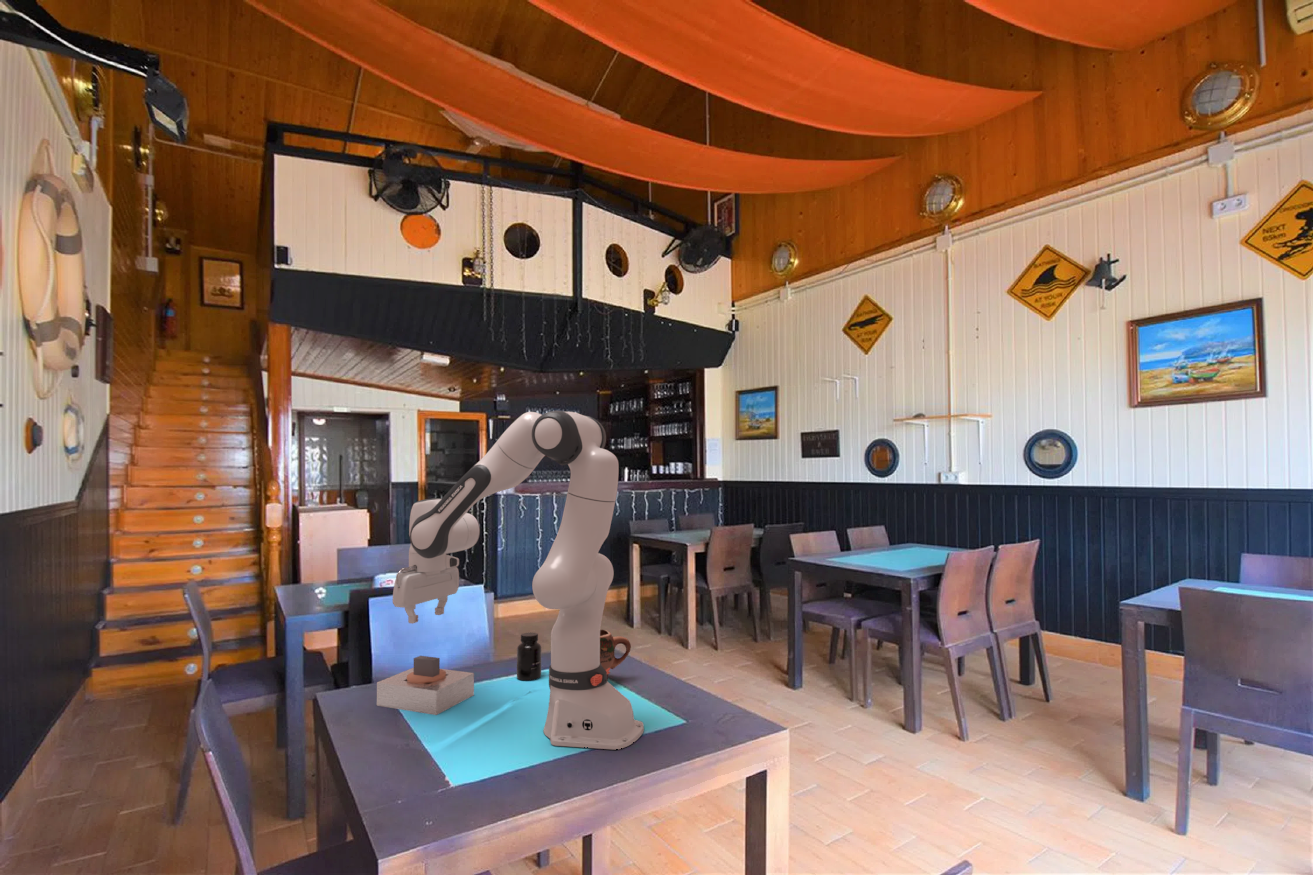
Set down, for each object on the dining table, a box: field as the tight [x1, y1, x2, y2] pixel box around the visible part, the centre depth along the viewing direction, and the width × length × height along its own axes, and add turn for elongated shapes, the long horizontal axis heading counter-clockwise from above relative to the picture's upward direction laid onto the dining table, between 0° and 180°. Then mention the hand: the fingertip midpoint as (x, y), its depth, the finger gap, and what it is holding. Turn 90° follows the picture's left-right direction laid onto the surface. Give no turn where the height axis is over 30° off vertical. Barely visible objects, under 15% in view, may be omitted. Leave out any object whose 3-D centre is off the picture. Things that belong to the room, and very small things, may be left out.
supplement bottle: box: [516, 632, 542, 681], centre depth 181 cm, size 7×7×12 cm
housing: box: [376, 667, 475, 716], centre depth 159 cm, size 18×14×7 cm
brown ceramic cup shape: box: [600, 628, 632, 682], centre depth 176 cm, size 20×12×14 cm, turn 113°
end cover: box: [407, 655, 446, 684], centre depth 160 cm, size 9×9×10 cm
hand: (426, 618), depth 160 cm, fingers open, 8 cm apart
